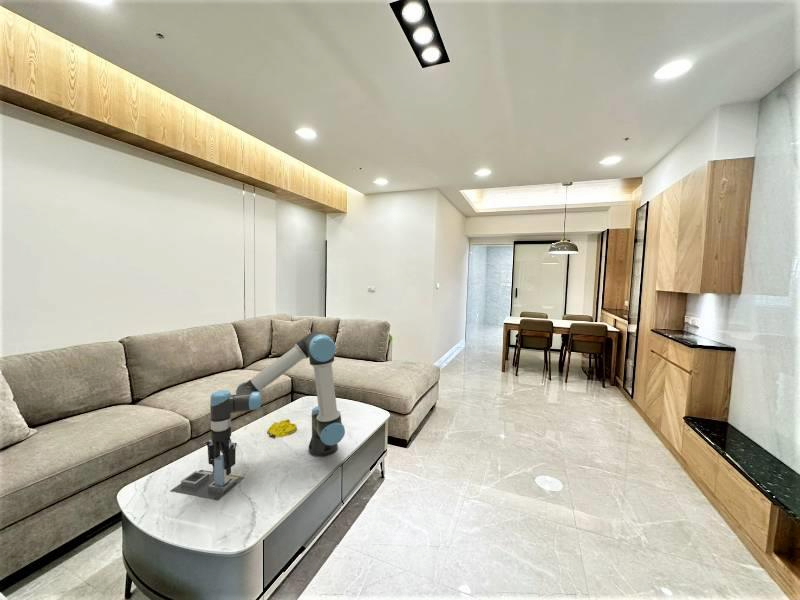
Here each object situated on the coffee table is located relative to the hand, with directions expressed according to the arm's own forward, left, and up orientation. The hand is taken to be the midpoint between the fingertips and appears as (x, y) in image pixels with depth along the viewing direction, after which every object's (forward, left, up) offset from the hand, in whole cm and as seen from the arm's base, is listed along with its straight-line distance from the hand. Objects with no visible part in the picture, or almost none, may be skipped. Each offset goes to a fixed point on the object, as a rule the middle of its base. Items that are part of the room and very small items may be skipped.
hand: (222, 480), depth 141 cm
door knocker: (+6, -55, -4) cm, 55 cm away
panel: (+7, 0, -4) cm, 8 cm away
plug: (0, 0, -3) cm, 3 cm away
